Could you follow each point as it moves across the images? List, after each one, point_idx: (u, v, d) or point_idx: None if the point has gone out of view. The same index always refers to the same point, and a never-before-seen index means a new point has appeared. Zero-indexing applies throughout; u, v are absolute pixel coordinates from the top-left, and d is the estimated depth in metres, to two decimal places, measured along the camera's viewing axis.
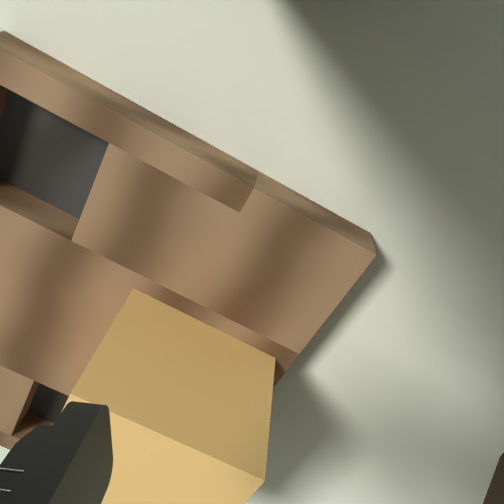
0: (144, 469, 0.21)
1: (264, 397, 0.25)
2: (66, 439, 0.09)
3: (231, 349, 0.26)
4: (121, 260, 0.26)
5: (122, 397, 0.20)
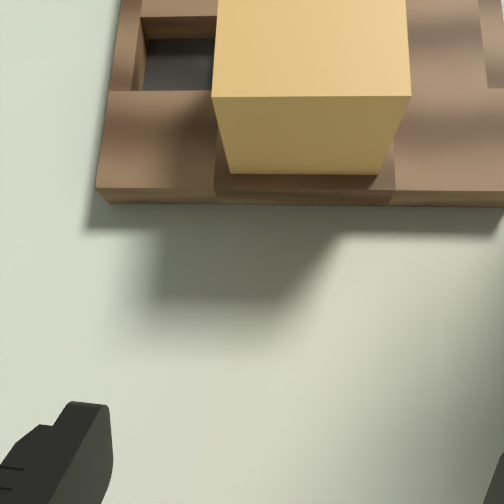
0: (352, 11, 0.23)
1: None
2: (66, 439, 0.09)
3: None
4: None
5: None
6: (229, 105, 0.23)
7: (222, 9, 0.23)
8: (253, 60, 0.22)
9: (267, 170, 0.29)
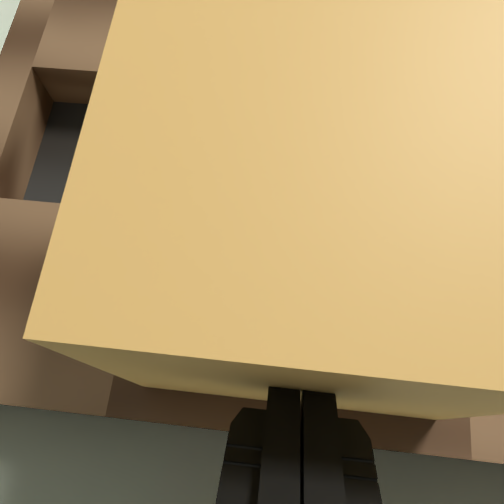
0: (437, 121, 0.09)
1: None
2: (285, 419, 0.09)
3: None
4: None
5: None
6: (83, 351, 0.08)
7: (106, 86, 0.09)
8: (163, 234, 0.08)
9: (215, 393, 0.14)
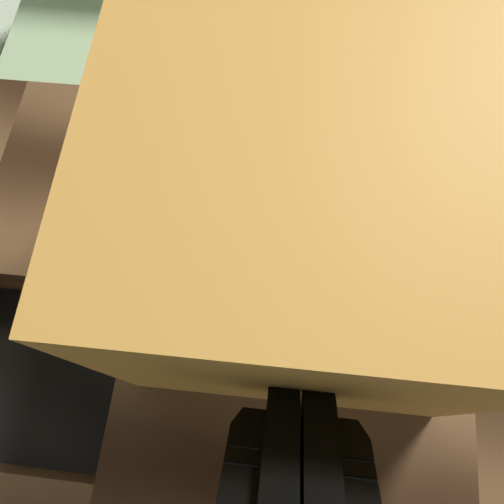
0: (428, 115, 0.09)
1: None
2: (285, 419, 0.09)
3: None
4: None
5: None
6: (71, 351, 0.08)
7: (93, 82, 0.09)
8: (151, 232, 0.08)
9: (210, 392, 0.14)
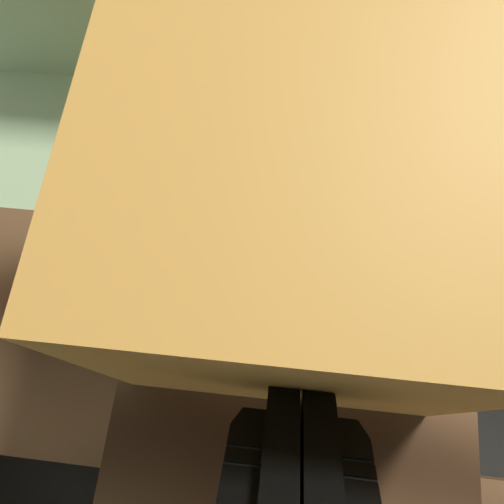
0: (418, 115, 0.09)
1: None
2: (285, 419, 0.09)
3: None
4: None
5: None
6: (61, 349, 0.08)
7: (84, 82, 0.09)
8: (140, 231, 0.08)
9: (204, 391, 0.14)
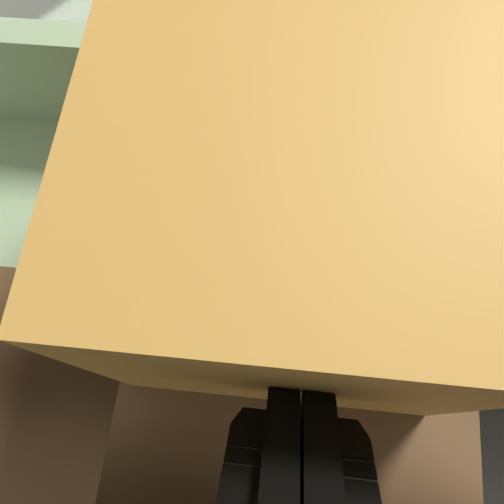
0: (414, 116, 0.09)
1: None
2: (285, 419, 0.09)
3: None
4: None
5: None
6: (59, 351, 0.08)
7: (82, 84, 0.09)
8: (138, 233, 0.08)
9: (204, 391, 0.14)
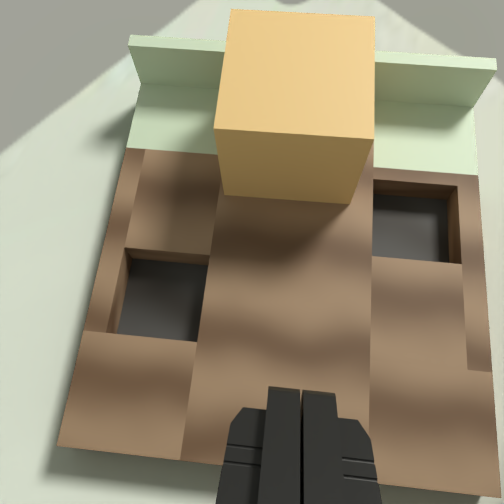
0: (331, 69, 0.28)
1: None
2: (285, 419, 0.09)
3: None
4: (375, 296, 0.32)
5: None
6: (227, 136, 0.28)
7: (227, 60, 0.29)
8: (250, 101, 0.28)
9: (256, 194, 0.34)
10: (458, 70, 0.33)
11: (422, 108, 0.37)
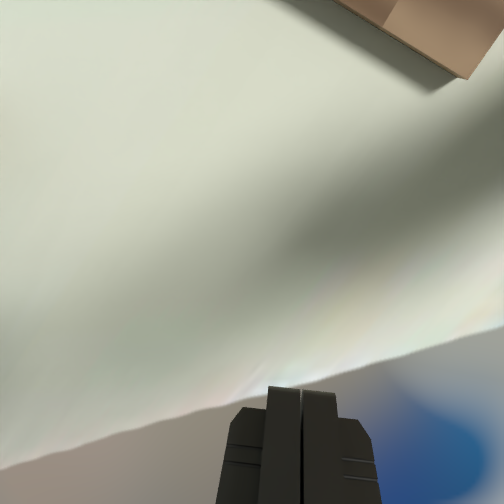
0: None
1: None
2: (285, 419, 0.09)
3: None
4: None
5: None
6: None
7: None
8: None
9: None
10: None
11: None
